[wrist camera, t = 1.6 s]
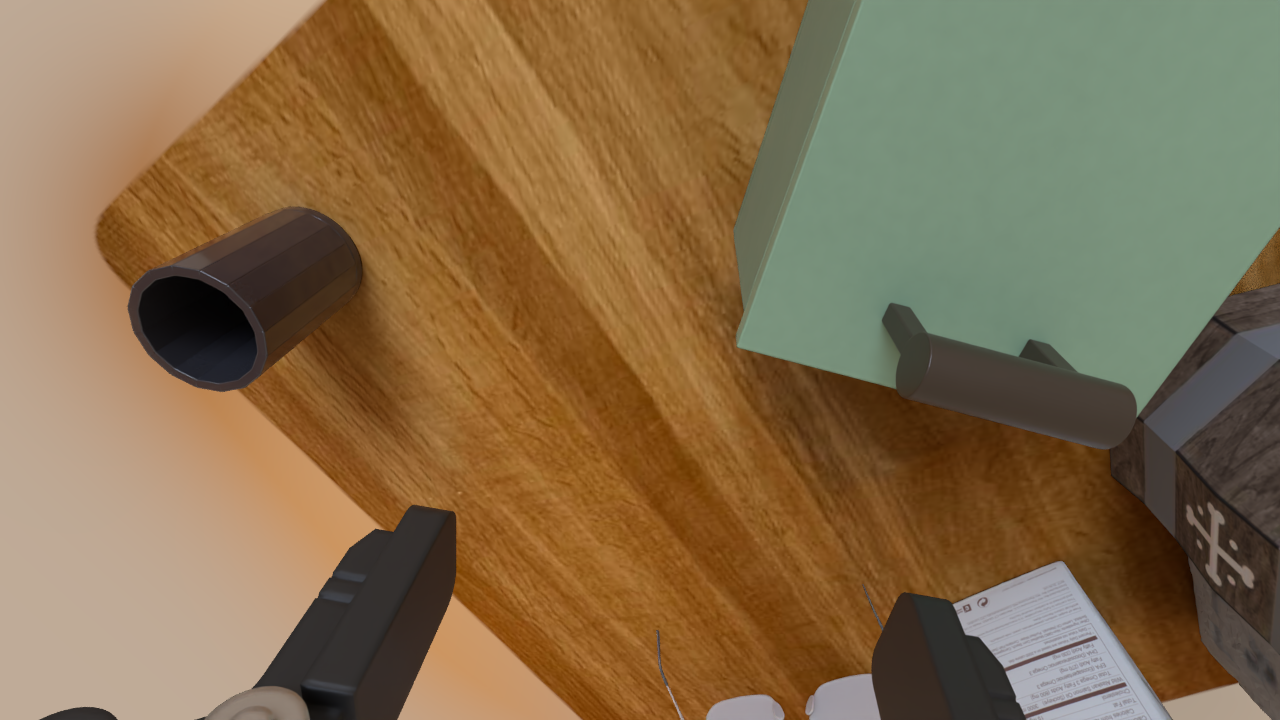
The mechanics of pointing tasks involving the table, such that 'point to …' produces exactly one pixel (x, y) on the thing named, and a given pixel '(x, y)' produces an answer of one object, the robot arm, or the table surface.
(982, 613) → the white packaging box
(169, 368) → the cup
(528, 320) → the table surface
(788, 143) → the chest
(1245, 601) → the mug
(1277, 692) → the incense holder
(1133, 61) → the lid
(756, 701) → the eyeglasses
